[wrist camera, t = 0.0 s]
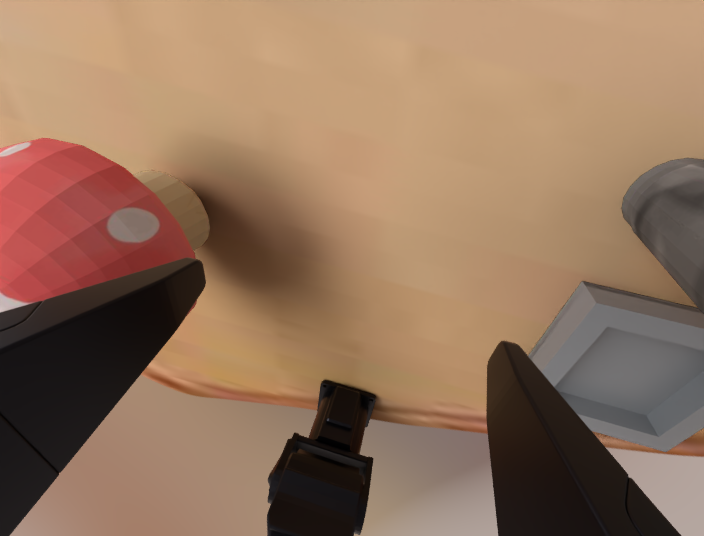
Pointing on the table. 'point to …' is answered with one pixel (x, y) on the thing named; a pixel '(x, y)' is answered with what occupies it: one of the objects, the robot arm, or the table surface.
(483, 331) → the table surface
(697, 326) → the tray
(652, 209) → the beverage cup
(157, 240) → the decorative mushroom
